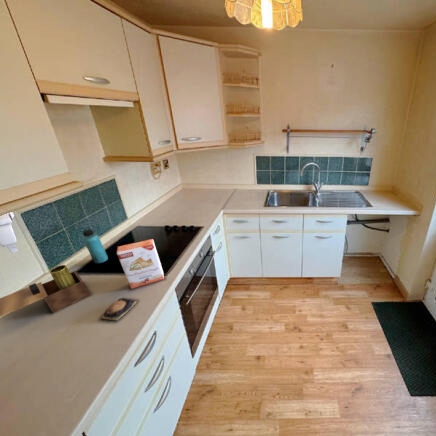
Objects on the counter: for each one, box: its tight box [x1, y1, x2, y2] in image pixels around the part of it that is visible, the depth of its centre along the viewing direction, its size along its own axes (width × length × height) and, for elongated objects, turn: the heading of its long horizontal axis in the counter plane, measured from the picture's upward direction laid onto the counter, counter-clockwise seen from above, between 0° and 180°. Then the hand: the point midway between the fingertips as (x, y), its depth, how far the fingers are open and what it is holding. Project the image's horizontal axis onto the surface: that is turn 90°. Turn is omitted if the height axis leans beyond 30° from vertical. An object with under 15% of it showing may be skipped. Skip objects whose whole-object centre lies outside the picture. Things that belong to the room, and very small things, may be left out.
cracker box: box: [116, 238, 165, 290], centre depth 107 cm, size 14×6×21 cm, turn 119°
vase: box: [49, 264, 76, 290], centre depth 100 cm, size 6×6×14 cm
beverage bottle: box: [82, 229, 109, 264], centre depth 121 cm, size 6×7×20 cm
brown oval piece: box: [101, 297, 137, 322], centre depth 95 cm, size 11×8×4 cm
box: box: [42, 270, 91, 314], centre depth 100 cm, size 13×13×8 cm
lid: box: [0, 281, 48, 318], centre depth 90 cm, size 13×13×3 cm
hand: (13, 247), depth 88 cm, fingers open, 8 cm apart
